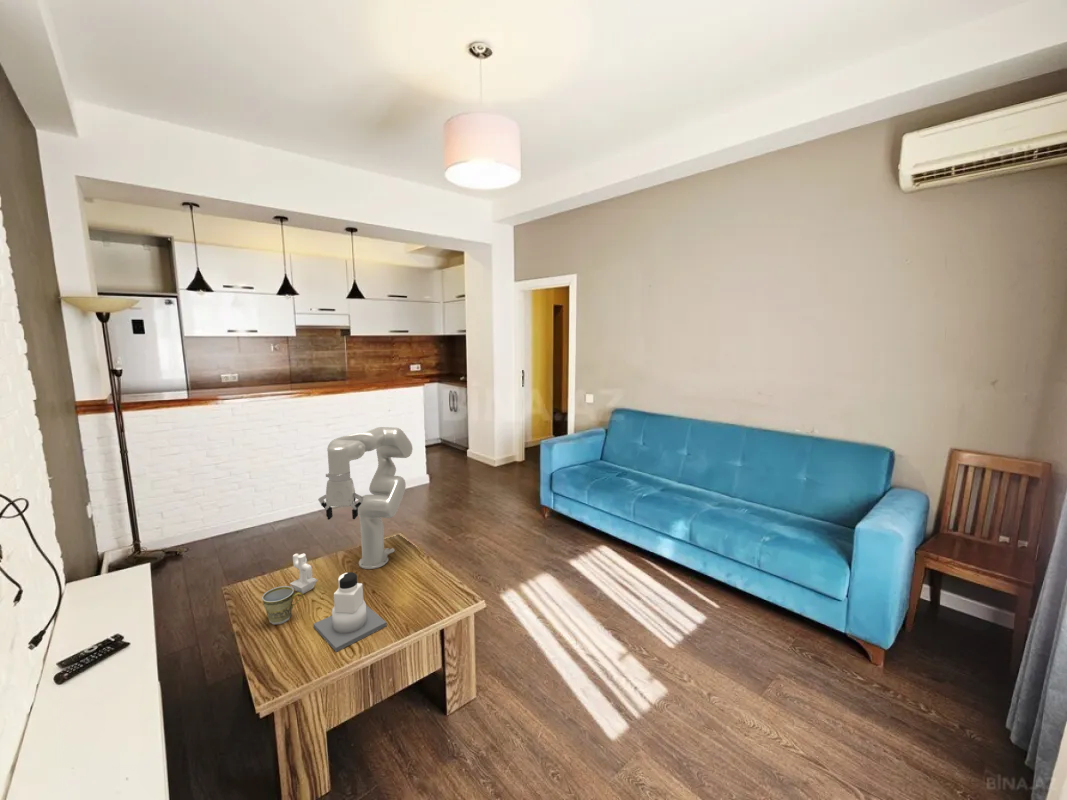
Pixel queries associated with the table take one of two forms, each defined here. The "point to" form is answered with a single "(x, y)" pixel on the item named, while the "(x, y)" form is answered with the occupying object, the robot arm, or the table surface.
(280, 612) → the ceramic cup
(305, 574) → the figurine
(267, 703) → the table surface
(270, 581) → the table surface
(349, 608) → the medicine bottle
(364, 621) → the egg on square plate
